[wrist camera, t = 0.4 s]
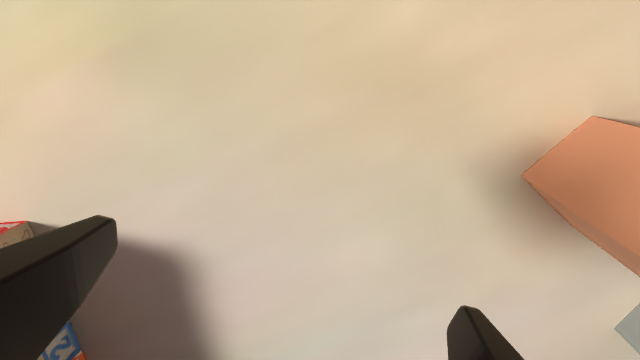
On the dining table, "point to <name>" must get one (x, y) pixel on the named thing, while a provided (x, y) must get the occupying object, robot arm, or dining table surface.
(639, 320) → the slate grey block
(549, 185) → the terracotta block
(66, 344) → the stack of blocks
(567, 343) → the dining table surface
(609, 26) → the dining table surface
